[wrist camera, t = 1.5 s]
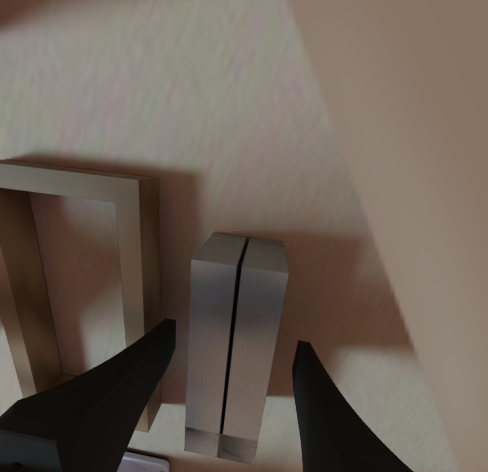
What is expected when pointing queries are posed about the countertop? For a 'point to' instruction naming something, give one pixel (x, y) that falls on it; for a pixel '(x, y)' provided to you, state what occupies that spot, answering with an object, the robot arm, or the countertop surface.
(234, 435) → the grooved grey block
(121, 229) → the brown rectangular open frame
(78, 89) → the countertop surface
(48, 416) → the robot arm
